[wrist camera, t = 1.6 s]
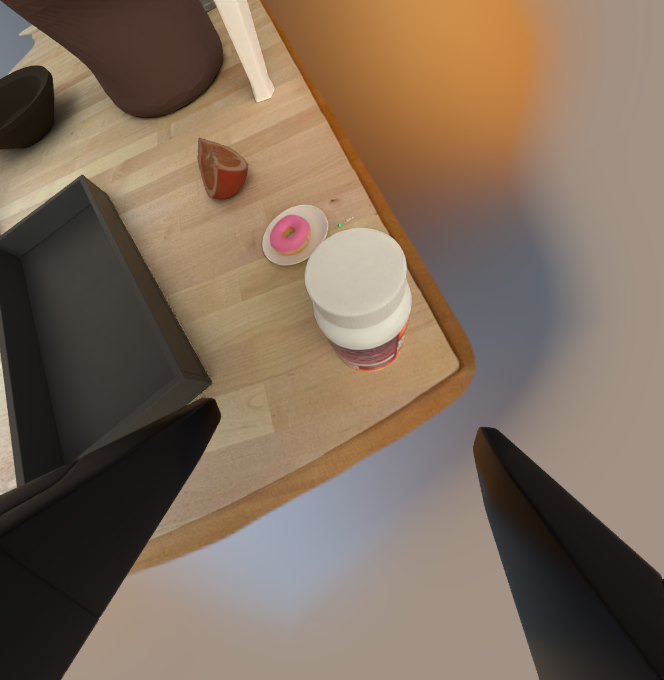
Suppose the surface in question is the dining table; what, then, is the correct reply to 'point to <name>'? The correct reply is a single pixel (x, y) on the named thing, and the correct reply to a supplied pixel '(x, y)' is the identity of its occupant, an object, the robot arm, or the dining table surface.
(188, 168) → the dining table surface
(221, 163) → the fruit slice
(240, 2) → the white faceted bottle
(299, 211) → the donut
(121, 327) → the tray
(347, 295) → the pill bottle
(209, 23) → the vase
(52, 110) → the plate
